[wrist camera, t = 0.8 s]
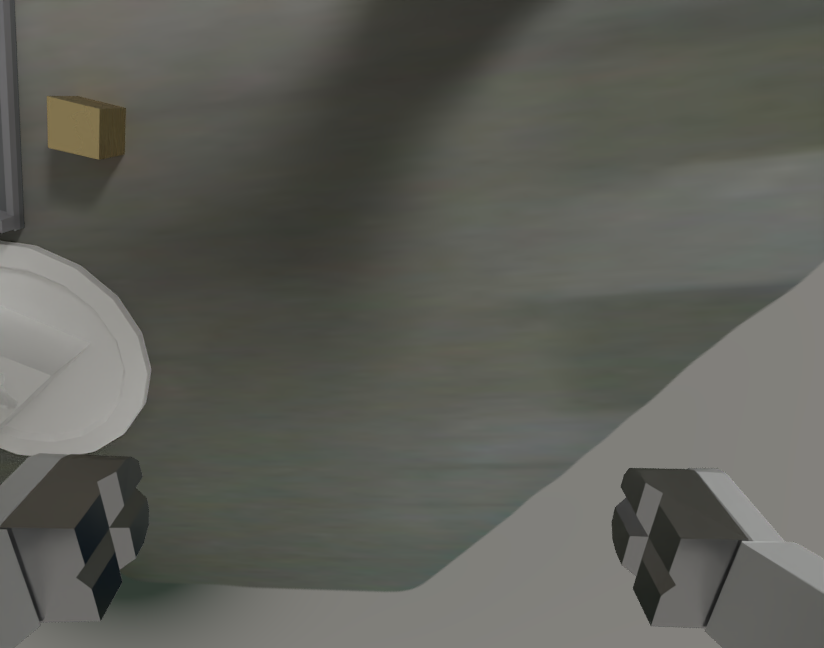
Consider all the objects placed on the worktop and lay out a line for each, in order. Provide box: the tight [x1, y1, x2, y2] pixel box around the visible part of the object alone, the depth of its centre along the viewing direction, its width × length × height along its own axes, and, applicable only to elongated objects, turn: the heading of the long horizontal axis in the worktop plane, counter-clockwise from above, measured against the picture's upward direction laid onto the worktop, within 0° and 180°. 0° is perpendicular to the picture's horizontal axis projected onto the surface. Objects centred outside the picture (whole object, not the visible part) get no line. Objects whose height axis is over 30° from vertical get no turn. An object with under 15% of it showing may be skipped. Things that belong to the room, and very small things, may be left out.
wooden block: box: [47, 96, 126, 160], centre depth 45 cm, size 4×4×4 cm
